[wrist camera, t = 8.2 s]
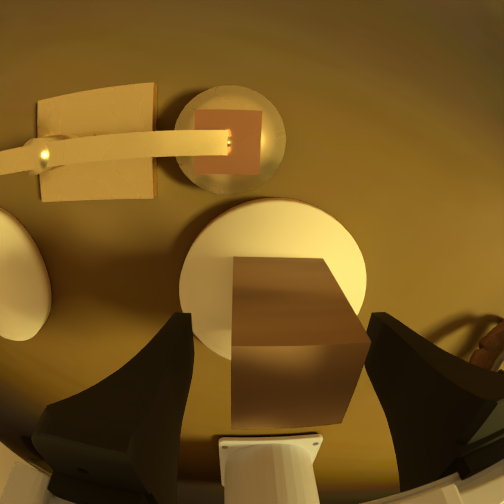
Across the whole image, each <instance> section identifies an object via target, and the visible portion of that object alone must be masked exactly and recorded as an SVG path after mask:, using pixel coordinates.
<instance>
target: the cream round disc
mask: <svg viewBox="0 0 504 504" xmlns="http://www.w3.org/2000/svg"><path fill="white" fill-rule="evenodd" d="M51 304H52V293H51V284H50V279H49V275H48V272H47V268H46V265H45V263H44V260H43V258H42V255H41V253H40V251H39V249H38V247H37V245H36V244H35V242H34V240H33V239H32V237H31V236H30V234H29V233H28V231H27V230H26V229H25V227H24V226H23V225H22V224H21V223H20V222H19V221H18V220H17V219H16V218H15V217H14V216H13V215H12V214H11V213H9V212H8V211H6V210H5V209H3V208H1V207H0V336H2V337H4V338H7V339H10V340H15V341H23V340H28V339H30V338H32V337H33V336H34V335H36V333H37V332H38V331H39V330H40V328H41V327H42V326H43V324H44V323H45V322H46V320H47V318H48V316H49V313H50V310H51Z"/></svg>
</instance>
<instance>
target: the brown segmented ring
mask: <svg viewBox="0 0 504 504" xmlns="http://www.w3.org/2000/svg"><path fill="white" fill-rule="evenodd" d="M503 361H504V319H502V320H501V323H499V324H498V325H497V326H496V327H494V328H493V329H492V330H491V331H490V332H489V333H488V334H487V335H486V336H485V337H484V338H482V339H481V341H480V342H479V349H477V350H475V351H474V353H473V355H472V356H471V358H470V361H469V363H471V364H474V365H476V366H479V367H482V368H485V369H488V370H491V371H494V372H497V371H498V369H499V367H500V366H501V364H502V362H503ZM498 373H502V374H504V371H503V370H502V369H500V370H499V371H498Z"/></svg>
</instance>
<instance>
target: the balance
mask: <svg viewBox="0 0 504 504" xmlns="http://www.w3.org/2000/svg"><path fill="white" fill-rule="evenodd" d="M157 95H158V84H156V83H154V82H153V83H141V84H131V85H123V86H115V87H108V88H101V89H94V90H88V91H83V92H77V93H72V94H67V95H62V96H57V97H53V98H48V99H44V100H40V101H38V117H37V132H38V138H34V139H30V140H28V141H27V142H26V143H25V144H24V146H23V147H18V148H13V149H9V150H4V151H0V175H3V174H9V173H14V172H20V171H25V172H26V173H28V174H29V175H37V174H39V176H40V187H41V197H42V202H53V201H74V200H101V199H153V198H154V197H156V196H157V163H156V157H166V156H175V157H176V160H177V162H178V164H179V166H180V168H181V170H182V171H183V173H184V174H185V175H186V176H187V177H188V178H189V179H190V180H191V181H192V182H193V183H194V184H196V185H197V186H199V187H200V188H202V189H204V190H207V191H209V192H212V193H216V194H223V195H235V194H241V193H245V192H248V191H251V190H253V189H255V188H257V187H259V186H260V185H262V184H263V183H265V182H266V181H267V180H268V179H269V178H270V177H271V176H272V175H273V174H274V172H275V171H276V170H277V168H278V167H279V165H280V163H281V161H282V158H283V155H284V152H285V146H286V133H285V127H284V124H283V121H282V118H281V116H280V114H279V112H278V111H277V109H276V108H275V107H274V105H273V104H272V103H271V102H270V101H269V100H268V99H267V98H266V97H264V96H263V95H261V94H260V93H258V92H256V91H254V90H252V89H249V88H246V87H241V86H234V85H226V86H219V87H214V88H211V89H208V90H206V91H204V92H202V93H200V94H199V95H197V96H196V97H194V98H193V99H192V100H191V101H190V102H189V103H188V104H187V105H186V106H185V107H184V109H183V110H182V112H181V113H180V115H179V117H178V119H177V122H176V124H175V128H174V130H169V131H157Z"/></svg>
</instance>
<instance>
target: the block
mask: <svg viewBox="0 0 504 504" xmlns="http://www.w3.org/2000/svg"><path fill="white" fill-rule="evenodd" d="M370 344H371V340H370V338H369V337H368V335H367V333H366V331H365V329H364V328H363V326H362V324H361V322H360V321H359V319H358V317H357V315H356V313H355V312H354V310H353V308H352V306H351V305H350V303H349V301H348V300H347V298H346V296H345V294H344V293H343V291H342V289H341V288H340V286H339V284H338V282H337V281H336V279H335V277H334V276H333V274H332V272H331V271H330V269H329V267H328V266H327V264H326V262H325V261H324V259H323V258H282V257H236V256H233V288H232V331H231V429H281V428H298V427H311V426H322V425H331V424H339V423H342V420H343V418H344V415H345V413H346V411H347V408H348V406H349V403H350V401H351V398H352V395H353V393H354V390H355V388H356V385H357V382H358V380H359V377H360V374H361V371H362V368H363V365H364V363H365V360H366V357H367V354H368V351H369V348H370Z"/></svg>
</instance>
